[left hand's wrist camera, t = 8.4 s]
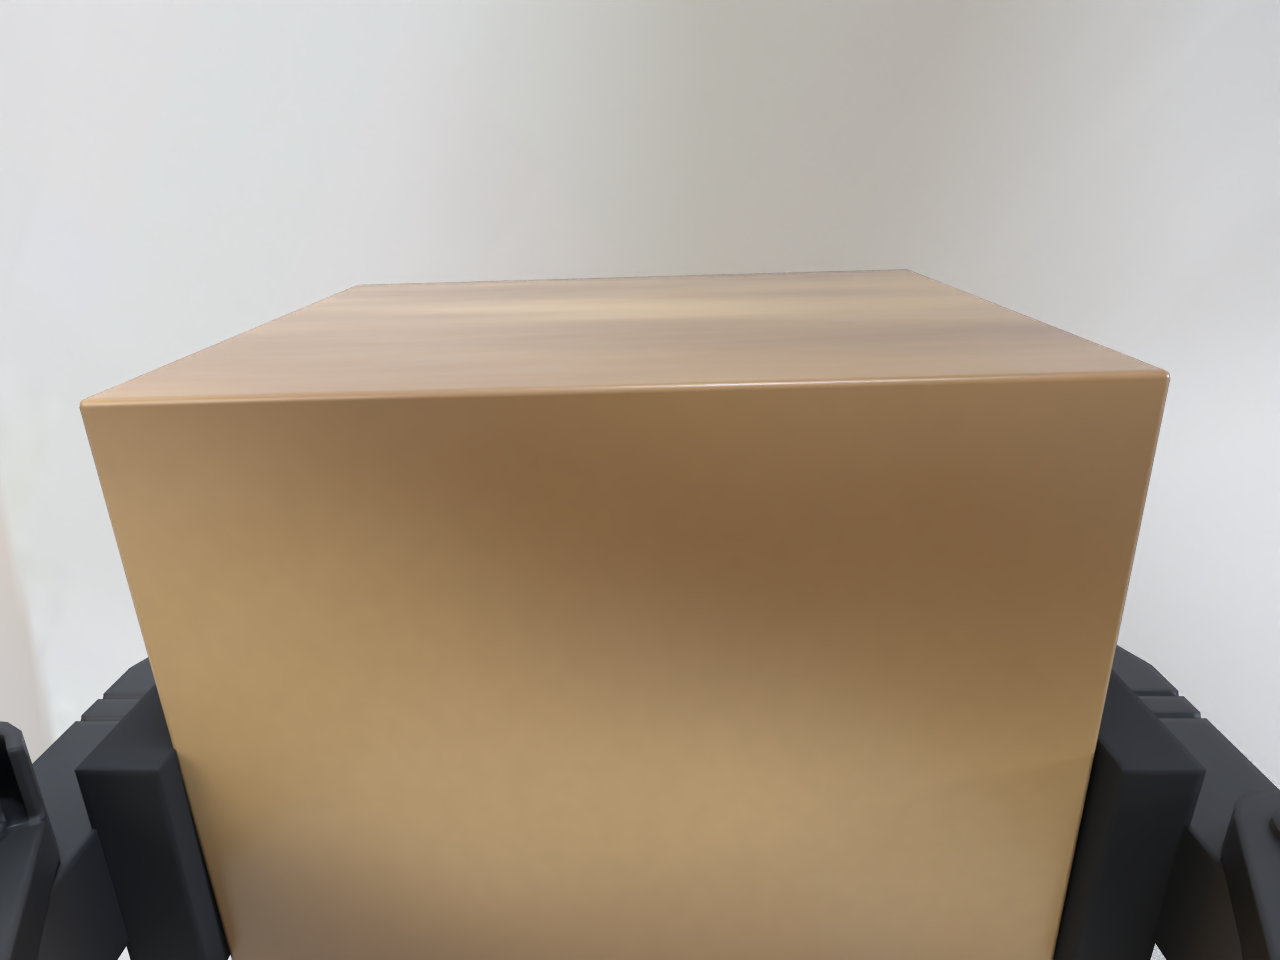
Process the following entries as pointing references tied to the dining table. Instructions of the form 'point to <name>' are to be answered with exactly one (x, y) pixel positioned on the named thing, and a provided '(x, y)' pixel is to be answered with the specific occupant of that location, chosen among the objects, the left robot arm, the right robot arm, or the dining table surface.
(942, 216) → the dining table surface
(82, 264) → the dining table surface
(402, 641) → the brown striped wooden beam
